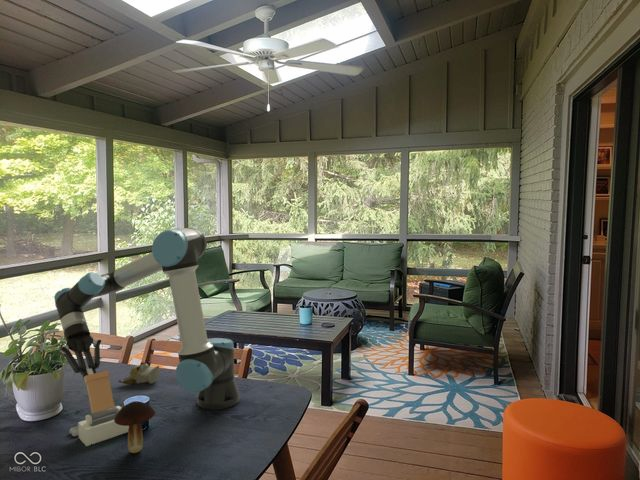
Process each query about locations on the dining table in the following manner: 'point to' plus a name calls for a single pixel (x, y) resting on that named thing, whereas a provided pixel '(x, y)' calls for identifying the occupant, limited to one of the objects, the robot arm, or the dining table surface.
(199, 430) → the dining table surface
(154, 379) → the ceramic sculpture
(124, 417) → the decorative mushroom
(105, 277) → the robot arm
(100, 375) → the lever
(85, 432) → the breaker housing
